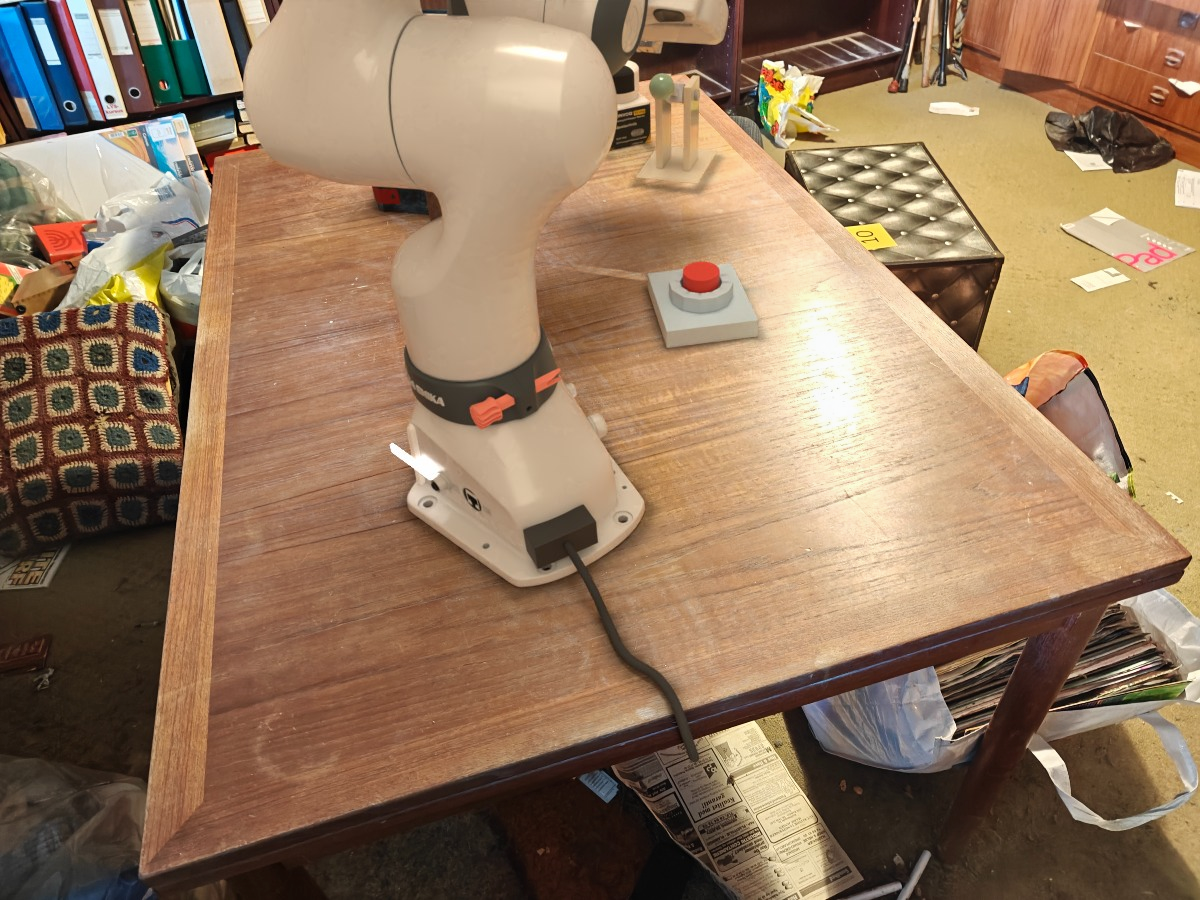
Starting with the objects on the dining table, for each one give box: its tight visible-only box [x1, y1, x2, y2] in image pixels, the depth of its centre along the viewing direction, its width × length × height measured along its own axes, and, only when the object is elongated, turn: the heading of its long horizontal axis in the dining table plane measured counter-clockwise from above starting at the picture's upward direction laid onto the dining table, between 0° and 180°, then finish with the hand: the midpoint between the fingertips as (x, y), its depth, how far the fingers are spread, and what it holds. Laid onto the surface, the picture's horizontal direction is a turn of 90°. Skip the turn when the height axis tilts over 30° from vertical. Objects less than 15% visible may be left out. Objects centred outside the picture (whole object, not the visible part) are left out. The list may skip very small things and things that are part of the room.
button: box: [682, 260, 720, 293], centre depth 94 cm, size 4×4×2 cm
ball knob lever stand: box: [635, 73, 718, 185], centre depth 119 cm, size 11×9×13 cm
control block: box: [646, 262, 760, 349], centre depth 95 cm, size 12×10×4 cm
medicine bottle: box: [609, 59, 652, 152], centre depth 127 cm, size 7×7×12 cm
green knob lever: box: [648, 72, 686, 106], centre depth 112 cm, size 11×3×3 cm, turn 160°
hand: (650, 47), depth 102 cm, fingers closed
